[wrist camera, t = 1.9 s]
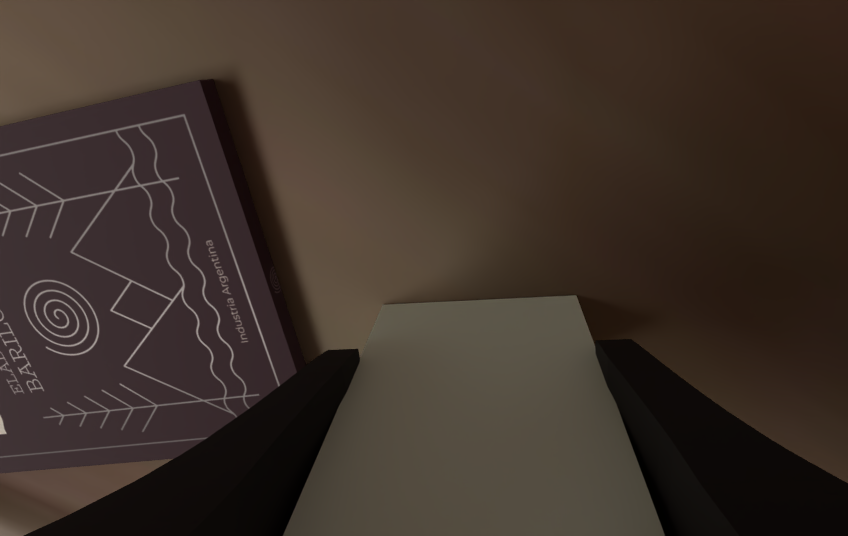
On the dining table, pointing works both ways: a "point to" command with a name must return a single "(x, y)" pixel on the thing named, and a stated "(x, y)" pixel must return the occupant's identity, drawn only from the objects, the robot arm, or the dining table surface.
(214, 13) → the dining table surface
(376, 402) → the sage domino
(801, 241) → the dining table surface
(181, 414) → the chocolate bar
